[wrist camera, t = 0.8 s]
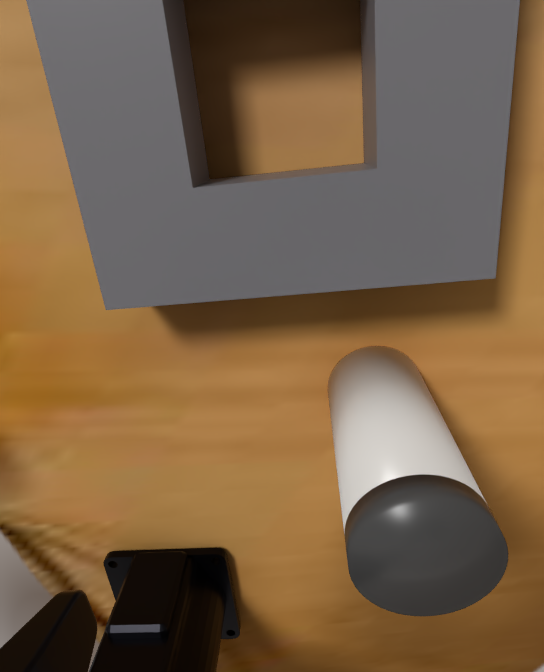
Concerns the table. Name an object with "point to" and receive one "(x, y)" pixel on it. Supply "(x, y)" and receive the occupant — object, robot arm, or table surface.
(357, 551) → the plug
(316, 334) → the table surface
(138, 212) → the socket block
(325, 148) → the table surface
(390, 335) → the table surface
